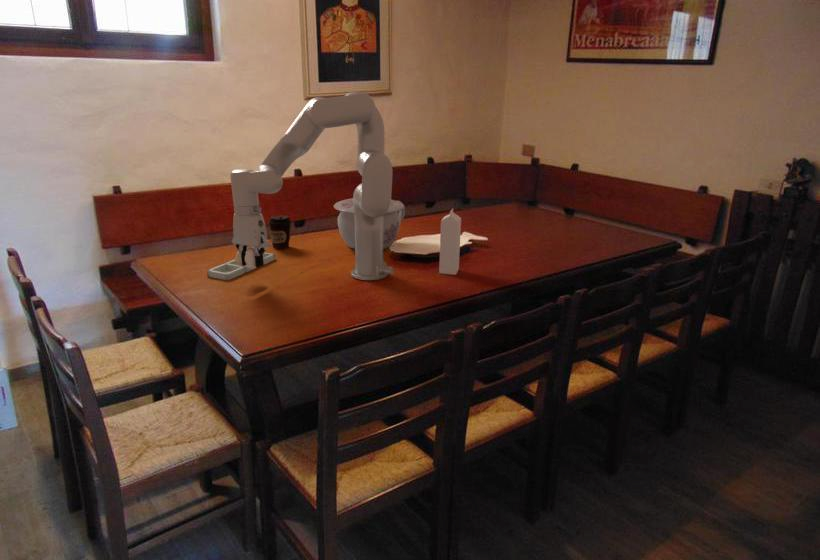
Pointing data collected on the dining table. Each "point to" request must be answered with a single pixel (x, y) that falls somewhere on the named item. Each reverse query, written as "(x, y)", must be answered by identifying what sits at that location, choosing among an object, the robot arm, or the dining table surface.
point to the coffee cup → (280, 231)
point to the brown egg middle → (238, 259)
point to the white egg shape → (250, 258)
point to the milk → (450, 244)
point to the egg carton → (234, 268)
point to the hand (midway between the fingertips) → (252, 264)
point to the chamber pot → (389, 222)
